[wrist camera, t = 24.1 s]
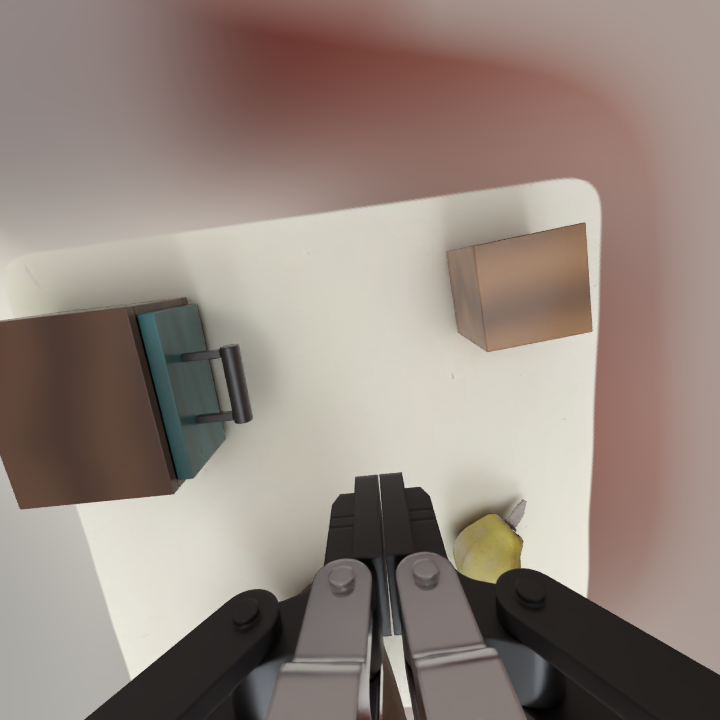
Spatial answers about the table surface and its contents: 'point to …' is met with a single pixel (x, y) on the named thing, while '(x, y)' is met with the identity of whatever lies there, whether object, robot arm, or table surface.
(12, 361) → the cabinet
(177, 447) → the drawer
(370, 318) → the table surface
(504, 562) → the fruit
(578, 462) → the table surface
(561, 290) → the cube
